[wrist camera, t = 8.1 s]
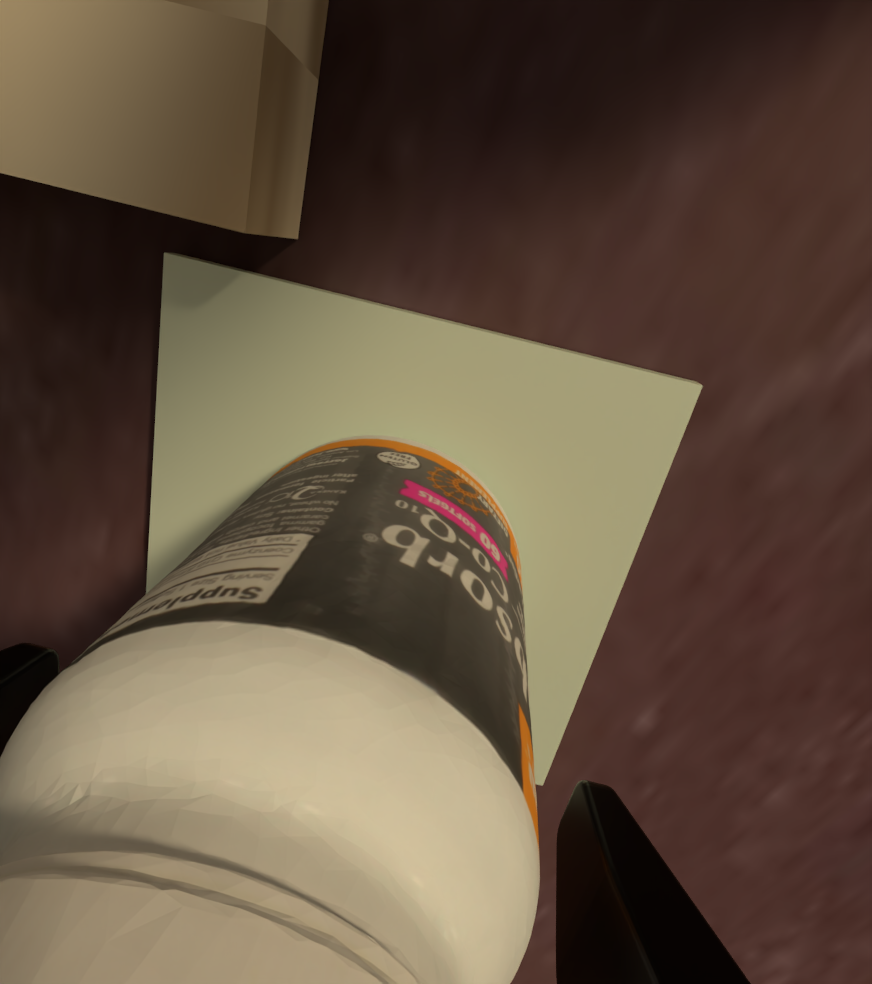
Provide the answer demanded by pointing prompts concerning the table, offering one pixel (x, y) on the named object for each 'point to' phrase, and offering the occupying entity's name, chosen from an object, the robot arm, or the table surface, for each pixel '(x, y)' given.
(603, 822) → the robot arm
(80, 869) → the pill bottle
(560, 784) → the table surface
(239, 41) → the pocket holder
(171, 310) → the mat
